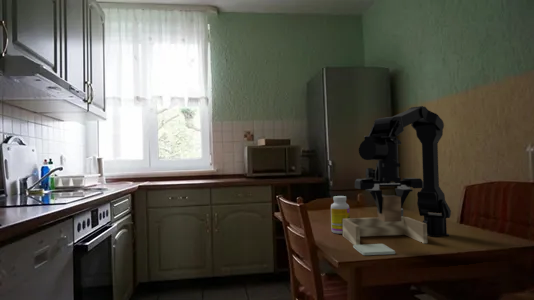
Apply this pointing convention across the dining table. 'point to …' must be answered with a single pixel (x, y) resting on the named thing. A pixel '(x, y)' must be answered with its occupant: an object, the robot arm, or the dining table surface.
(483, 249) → the dining table surface
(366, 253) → the tile
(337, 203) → the supplement bottle
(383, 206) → the block
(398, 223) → the wooden u-shaped frame
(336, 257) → the dining table surface
